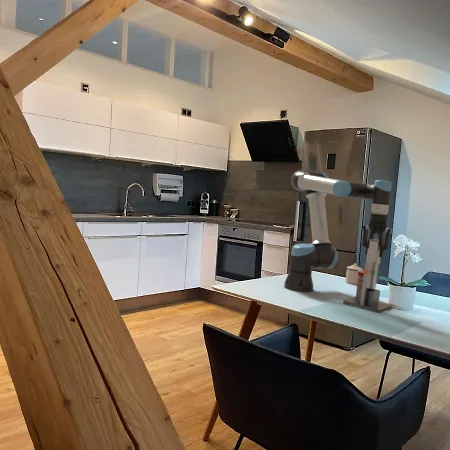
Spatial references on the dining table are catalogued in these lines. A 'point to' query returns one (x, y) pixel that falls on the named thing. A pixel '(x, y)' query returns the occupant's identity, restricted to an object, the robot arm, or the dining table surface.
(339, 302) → the dining table surface
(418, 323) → the dining table surface
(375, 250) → the column
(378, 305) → the stand
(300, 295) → the dining table surface
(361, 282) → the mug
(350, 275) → the teacup with lid
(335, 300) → the dining table surface
